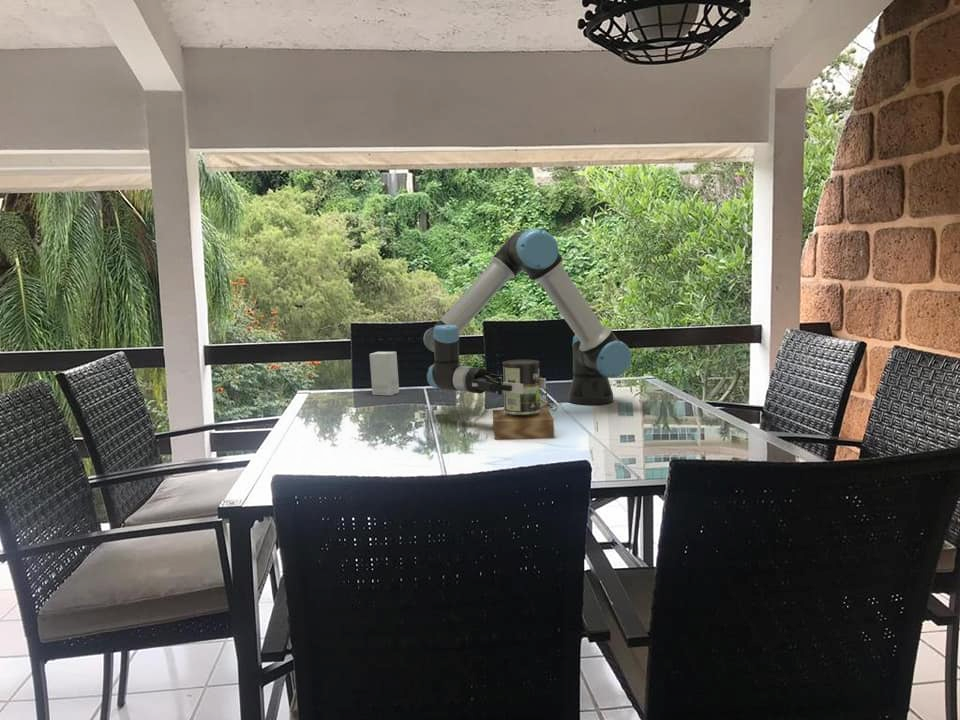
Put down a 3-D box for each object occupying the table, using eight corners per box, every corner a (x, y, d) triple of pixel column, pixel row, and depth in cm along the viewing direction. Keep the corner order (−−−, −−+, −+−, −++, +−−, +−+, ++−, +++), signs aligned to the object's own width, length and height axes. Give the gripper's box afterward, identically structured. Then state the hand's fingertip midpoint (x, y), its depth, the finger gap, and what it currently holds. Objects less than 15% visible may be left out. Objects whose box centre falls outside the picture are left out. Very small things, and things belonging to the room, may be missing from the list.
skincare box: (399, 393, 289) (398, 351, 287) (390, 396, 283) (388, 353, 281) (380, 392, 293) (378, 350, 291) (370, 395, 287) (368, 353, 285)
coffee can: (542, 408, 223) (541, 359, 221) (537, 415, 213) (537, 364, 211) (506, 407, 225) (505, 359, 223) (500, 414, 215) (499, 364, 213)
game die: (543, 429, 239) (562, 402, 239) (536, 425, 231) (556, 397, 232) (520, 413, 243) (539, 387, 243) (513, 408, 235) (532, 381, 235)
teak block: (547, 425, 228) (547, 408, 227) (553, 437, 212) (553, 419, 211) (493, 426, 228) (492, 409, 227) (494, 439, 212) (494, 421, 211)
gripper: (496, 386, 238) (557, 393, 224) (446, 398, 221) (509, 406, 207) (495, 362, 238) (556, 367, 223) (446, 372, 220) (509, 378, 206)
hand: (534, 386), depth 215 cm, fingers closed on coffee can, 10 cm apart
